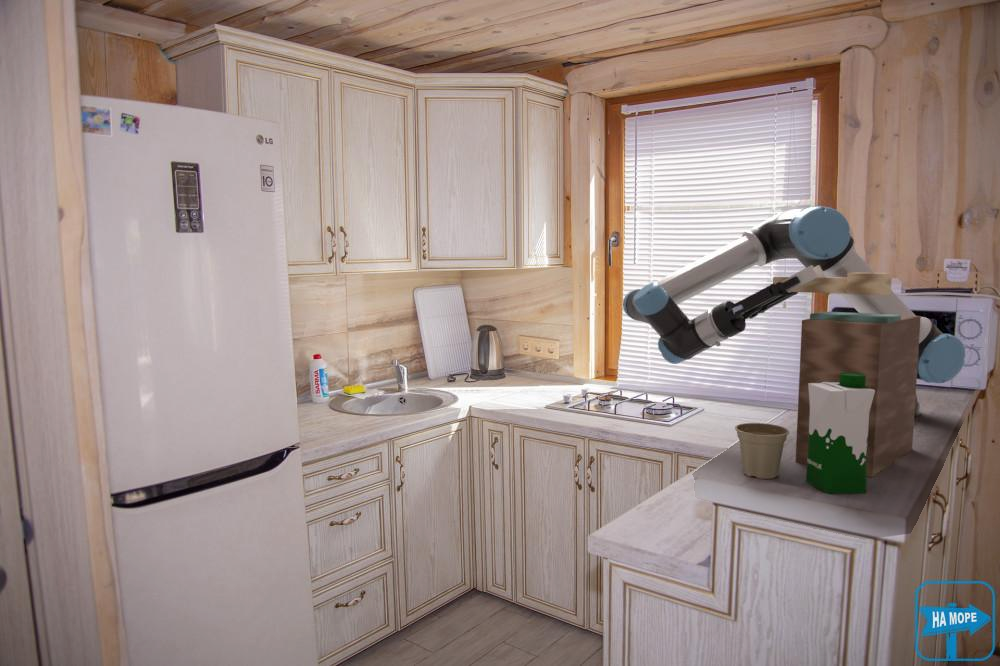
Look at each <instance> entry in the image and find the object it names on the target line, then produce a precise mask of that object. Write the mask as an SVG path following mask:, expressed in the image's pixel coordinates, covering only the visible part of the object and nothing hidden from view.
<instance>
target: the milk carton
mask: <svg viewBox="0 0 1000 666" xmlns="http://www.w3.org/2000/svg"><path fill="white" fill-rule="evenodd" d="M865 379H866V375H865V374H861V373H851V372H844V373H840V380H839V382H822V383H808V386H809V400H810V418H809V440H808V460H807V464H806V475H805V476H806V478H805V480H806V481H805V482H807V483H808V484H810V485H812V486H813V487H815V488H817V489H818V490H820V491H822V492H823V493H824V494H827V495H831V494H832V495H833V494H834V495H837V494H839V495H841V494H864V493H865V494H867V476H866V461H867V443H868V425H869V412H870V408H871V404H872V401H873V397H874V393H875V390H873V389H871V388H868V387H867V386H865Z"/></svg>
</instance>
